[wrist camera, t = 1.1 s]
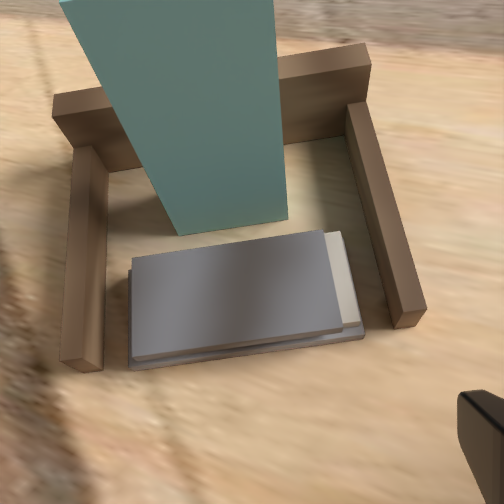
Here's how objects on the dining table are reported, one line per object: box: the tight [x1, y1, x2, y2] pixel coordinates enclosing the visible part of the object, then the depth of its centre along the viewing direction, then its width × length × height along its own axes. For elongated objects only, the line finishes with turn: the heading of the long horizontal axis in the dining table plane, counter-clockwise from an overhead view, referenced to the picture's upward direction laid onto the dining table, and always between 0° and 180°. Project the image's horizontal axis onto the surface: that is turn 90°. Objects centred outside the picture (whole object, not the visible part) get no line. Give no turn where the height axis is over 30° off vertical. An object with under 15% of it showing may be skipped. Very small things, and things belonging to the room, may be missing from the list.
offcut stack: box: [128, 229, 365, 371], centre depth 23 cm, size 11×5×2 cm, turn 97°
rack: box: [52, 43, 427, 373], centre depth 23 cm, size 16×13×5 cm
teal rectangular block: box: [59, 0, 288, 236], centre depth 20 cm, size 6×3×14 cm, turn 97°
